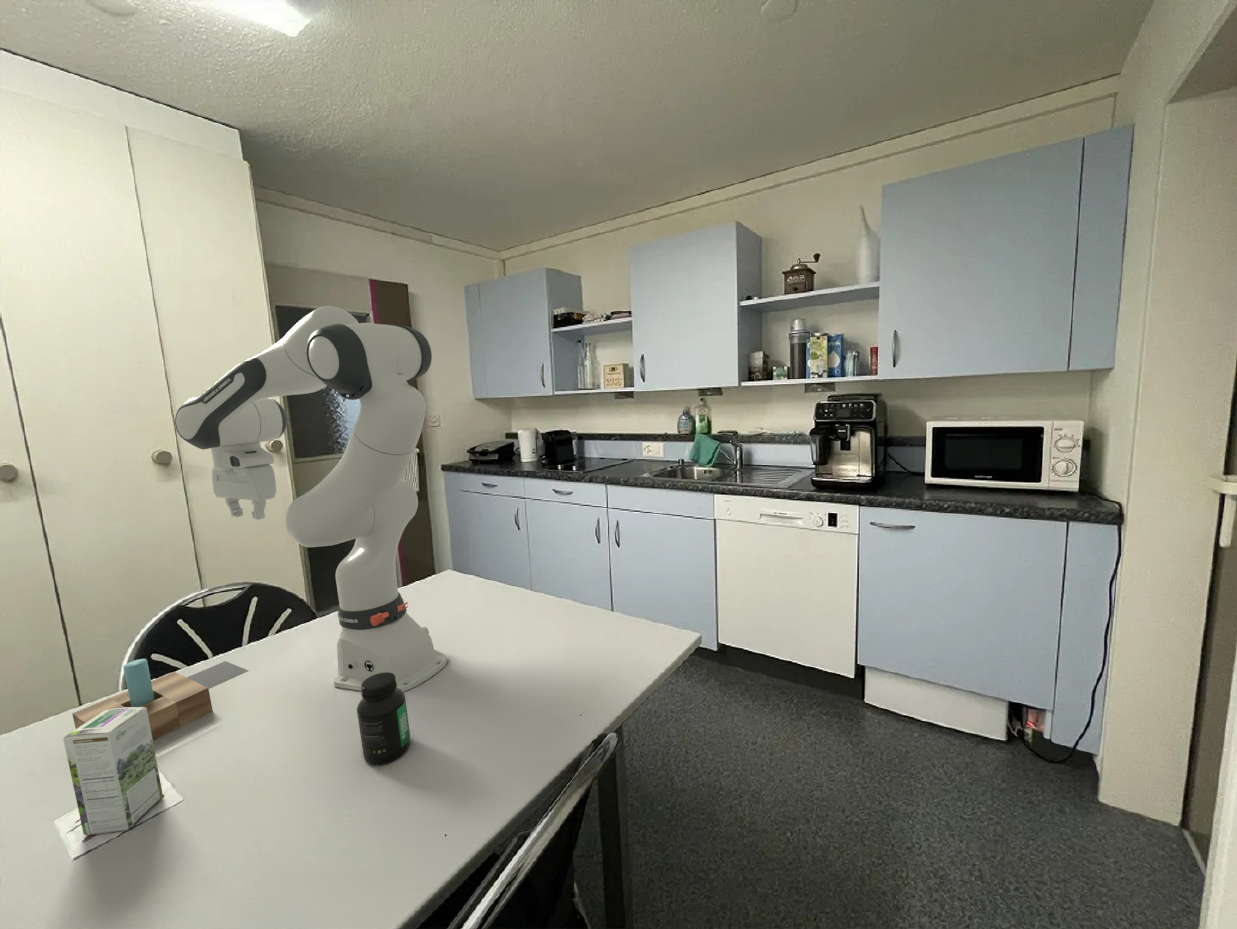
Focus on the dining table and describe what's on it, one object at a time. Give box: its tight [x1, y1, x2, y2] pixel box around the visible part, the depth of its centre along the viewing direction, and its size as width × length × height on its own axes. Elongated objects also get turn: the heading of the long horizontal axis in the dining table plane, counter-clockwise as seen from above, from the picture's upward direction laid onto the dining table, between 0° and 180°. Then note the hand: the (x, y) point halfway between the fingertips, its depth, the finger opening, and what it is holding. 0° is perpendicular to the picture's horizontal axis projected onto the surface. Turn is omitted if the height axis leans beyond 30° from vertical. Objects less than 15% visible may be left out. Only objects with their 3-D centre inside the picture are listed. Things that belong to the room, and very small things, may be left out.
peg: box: [123, 658, 155, 707], centre depth 88 cm, size 3×3×12 cm
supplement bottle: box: [356, 672, 412, 766], centre depth 77 cm, size 7×7×12 cm
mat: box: [186, 660, 250, 689], centre depth 103 cm, size 10×10×1 cm
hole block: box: [72, 671, 214, 741], centre depth 88 cm, size 14×14×5 cm
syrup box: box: [63, 707, 164, 836], centre depth 67 cm, size 6×6×14 cm
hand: (248, 517), depth 112 cm, fingers open, 8 cm apart
